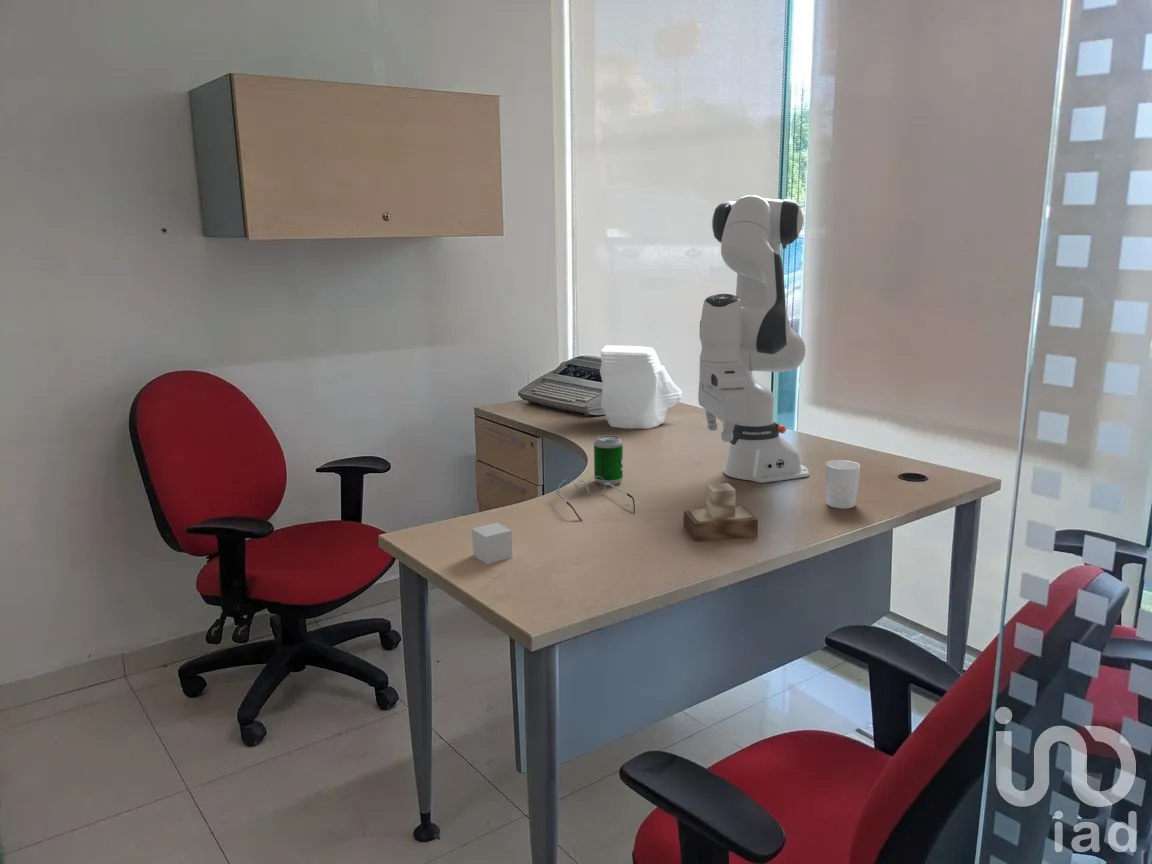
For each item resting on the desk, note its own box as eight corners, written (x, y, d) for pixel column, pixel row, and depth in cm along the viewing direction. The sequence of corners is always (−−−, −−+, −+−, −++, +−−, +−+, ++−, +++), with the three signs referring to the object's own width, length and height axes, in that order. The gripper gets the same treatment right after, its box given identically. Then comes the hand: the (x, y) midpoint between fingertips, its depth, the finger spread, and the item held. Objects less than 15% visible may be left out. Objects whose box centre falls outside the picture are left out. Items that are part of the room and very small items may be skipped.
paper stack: (609, 415, 300) (608, 343, 294) (683, 421, 290) (684, 346, 284) (586, 429, 281) (585, 352, 275) (665, 436, 271) (665, 356, 265)
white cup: (840, 511, 200) (842, 471, 197) (816, 502, 206) (818, 462, 204) (864, 506, 203) (867, 466, 201) (840, 497, 210) (843, 458, 207)
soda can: (620, 487, 221) (620, 442, 218) (592, 485, 222) (591, 441, 219) (624, 478, 228) (624, 435, 225) (597, 477, 229) (596, 434, 226)
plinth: (743, 522, 194) (743, 504, 193) (757, 536, 185) (758, 518, 184) (683, 527, 192) (683, 509, 190) (695, 541, 183) (695, 522, 182)
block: (727, 509, 190) (728, 483, 189) (735, 516, 185) (735, 490, 184) (705, 510, 189) (706, 484, 188) (712, 518, 185) (713, 491, 183)
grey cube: (486, 564, 173) (485, 537, 172) (473, 555, 178) (471, 528, 176) (512, 557, 176) (511, 530, 175) (498, 549, 181) (497, 522, 180)
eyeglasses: (610, 492, 218) (610, 473, 217) (640, 515, 201) (640, 494, 200) (550, 500, 213) (550, 481, 212) (576, 524, 196) (576, 503, 195)
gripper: (691, 364, 191) (691, 424, 194) (721, 382, 171) (720, 448, 175) (718, 363, 192) (717, 422, 195) (751, 380, 172) (749, 446, 176)
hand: (719, 435), depth 185 cm, fingers open, 8 cm apart
